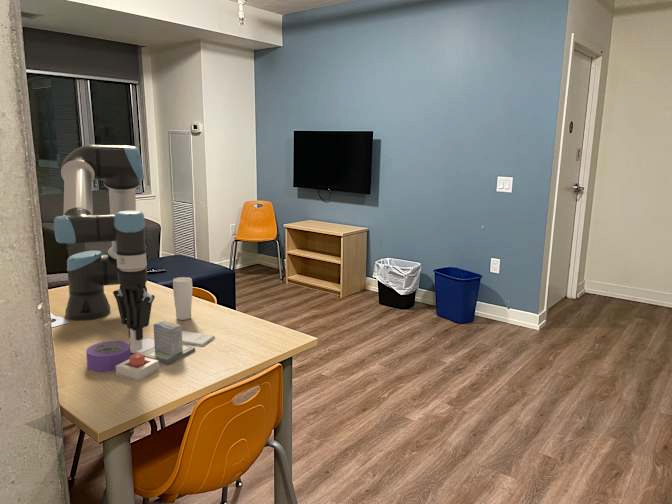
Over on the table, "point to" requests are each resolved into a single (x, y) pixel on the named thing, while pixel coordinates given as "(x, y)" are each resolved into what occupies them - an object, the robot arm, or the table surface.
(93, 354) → the tape roll
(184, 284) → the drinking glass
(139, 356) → the button
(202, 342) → the external hard drive
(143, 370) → the button housing
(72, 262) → the robot arm
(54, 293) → the table surface
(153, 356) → the picture board
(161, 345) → the medicine box
